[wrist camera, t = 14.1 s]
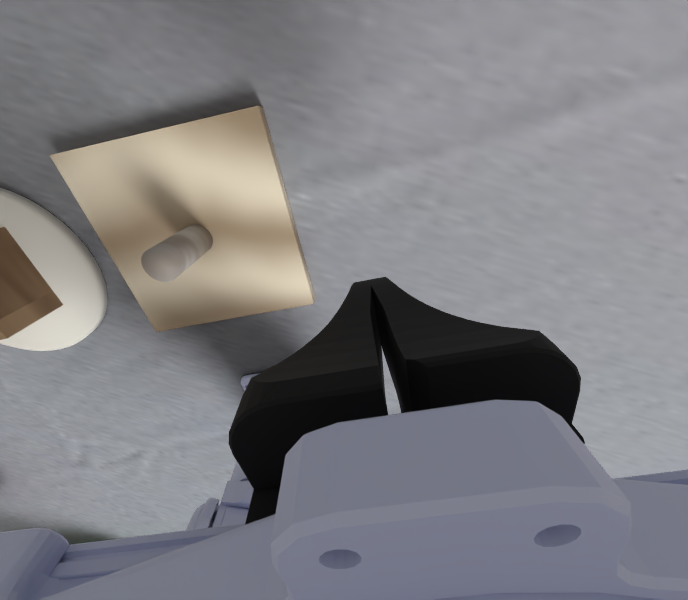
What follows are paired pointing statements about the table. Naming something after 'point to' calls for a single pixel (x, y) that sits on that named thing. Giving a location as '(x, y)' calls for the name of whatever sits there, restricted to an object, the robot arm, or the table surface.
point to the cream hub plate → (55, 275)
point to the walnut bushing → (21, 289)
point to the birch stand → (194, 218)
